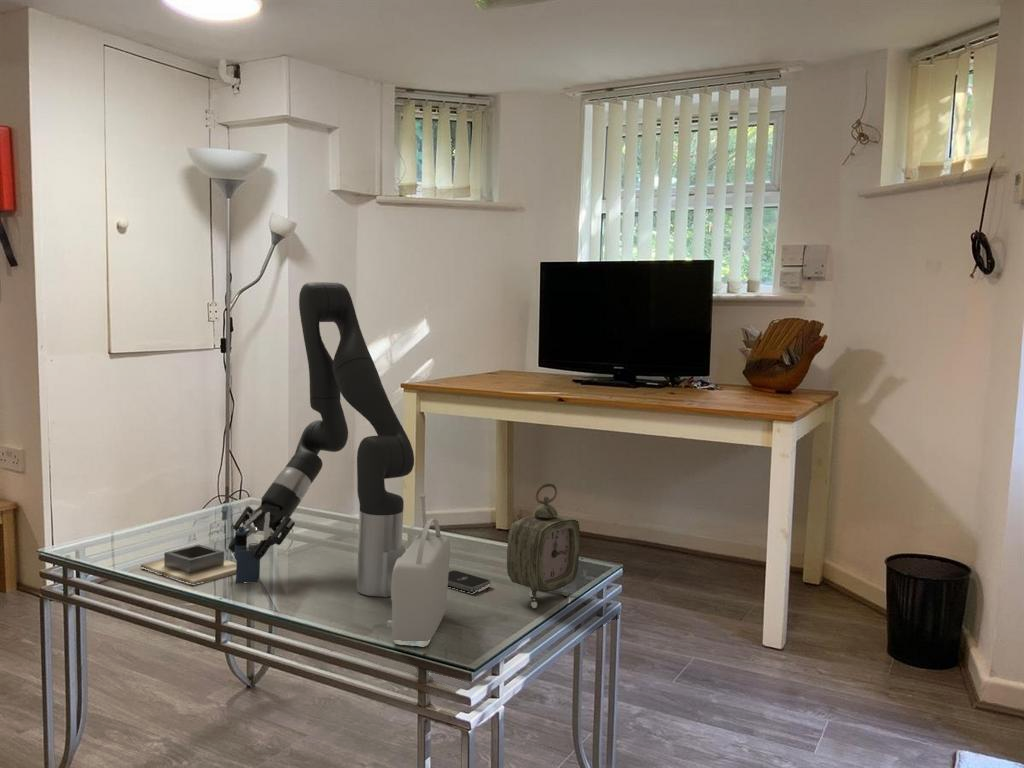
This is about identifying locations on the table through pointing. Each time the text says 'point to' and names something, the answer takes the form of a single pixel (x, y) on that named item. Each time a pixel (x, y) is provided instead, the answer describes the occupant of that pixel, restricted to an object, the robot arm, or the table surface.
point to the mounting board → (196, 577)
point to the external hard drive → (466, 581)
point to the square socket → (193, 559)
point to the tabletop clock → (543, 548)
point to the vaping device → (245, 559)
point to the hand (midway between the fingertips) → (243, 553)
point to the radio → (420, 585)
